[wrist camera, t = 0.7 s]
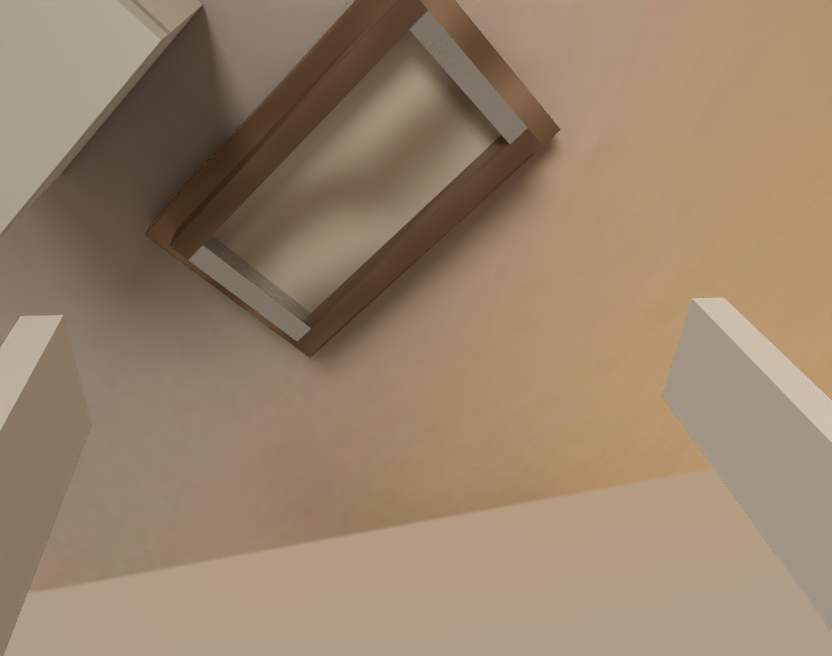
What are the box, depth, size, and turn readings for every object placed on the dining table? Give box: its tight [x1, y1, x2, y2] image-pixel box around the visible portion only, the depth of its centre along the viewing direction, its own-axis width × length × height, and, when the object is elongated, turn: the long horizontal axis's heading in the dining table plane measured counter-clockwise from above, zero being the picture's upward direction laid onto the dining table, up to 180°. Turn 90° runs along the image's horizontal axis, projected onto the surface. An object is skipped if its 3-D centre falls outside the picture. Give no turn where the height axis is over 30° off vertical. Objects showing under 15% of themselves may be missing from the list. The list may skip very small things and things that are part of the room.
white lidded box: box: [0, 0, 203, 238], centre depth 29 cm, size 6×12×11 cm, turn 133°
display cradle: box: [146, 0, 560, 357], centre depth 37 cm, size 12×20×4 cm, turn 133°
